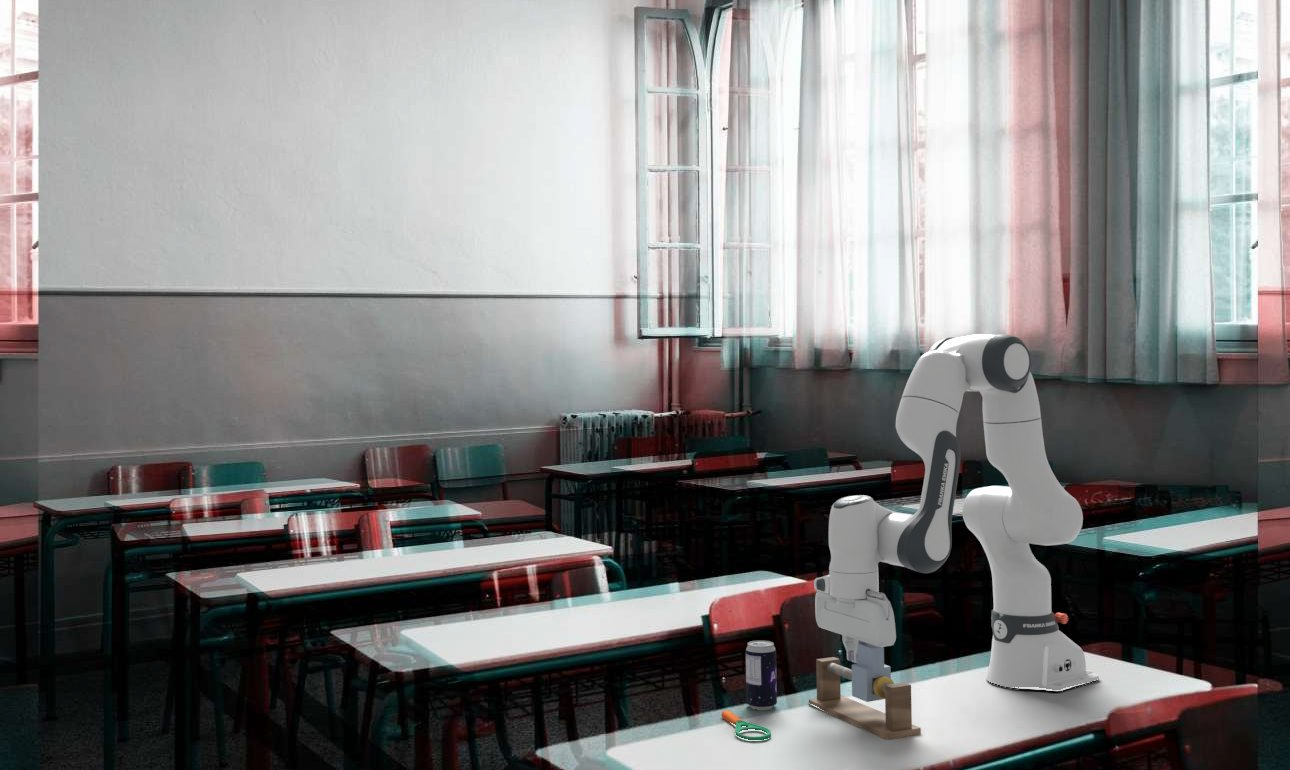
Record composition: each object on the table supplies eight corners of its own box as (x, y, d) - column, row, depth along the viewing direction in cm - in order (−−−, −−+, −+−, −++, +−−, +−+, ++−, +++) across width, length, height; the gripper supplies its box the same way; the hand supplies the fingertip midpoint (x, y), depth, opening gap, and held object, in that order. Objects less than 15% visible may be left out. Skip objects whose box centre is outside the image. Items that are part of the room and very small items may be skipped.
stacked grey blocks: (852, 696, 204) (851, 644, 204) (875, 692, 206) (875, 641, 206) (867, 702, 200) (866, 649, 200) (891, 698, 202) (890, 646, 202)
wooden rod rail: (808, 704, 215) (807, 657, 215) (839, 699, 218) (838, 652, 218) (887, 739, 193) (886, 686, 193) (920, 733, 196) (919, 681, 196)
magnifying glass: (777, 741, 195) (777, 731, 195) (745, 746, 193) (744, 735, 193) (741, 717, 209) (741, 708, 209) (710, 721, 207) (710, 712, 207)
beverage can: (775, 712, 211) (774, 647, 211) (744, 710, 212) (743, 646, 212) (778, 703, 216) (777, 640, 216) (748, 702, 217) (747, 639, 217)
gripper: (903, 593, 199) (905, 672, 199) (836, 576, 218) (837, 648, 218) (874, 596, 196) (875, 676, 196) (808, 579, 215) (810, 652, 215)
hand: (855, 661), depth 207 cm, fingers closed
